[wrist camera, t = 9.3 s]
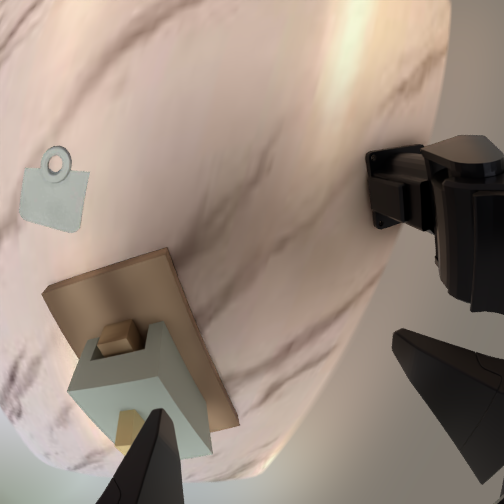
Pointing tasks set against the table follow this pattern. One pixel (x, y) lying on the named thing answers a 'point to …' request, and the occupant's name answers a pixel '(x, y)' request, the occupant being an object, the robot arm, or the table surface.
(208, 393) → the cleat board
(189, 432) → the cabinet block
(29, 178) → the mounting bracket
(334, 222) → the table surface
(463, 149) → the robot arm
